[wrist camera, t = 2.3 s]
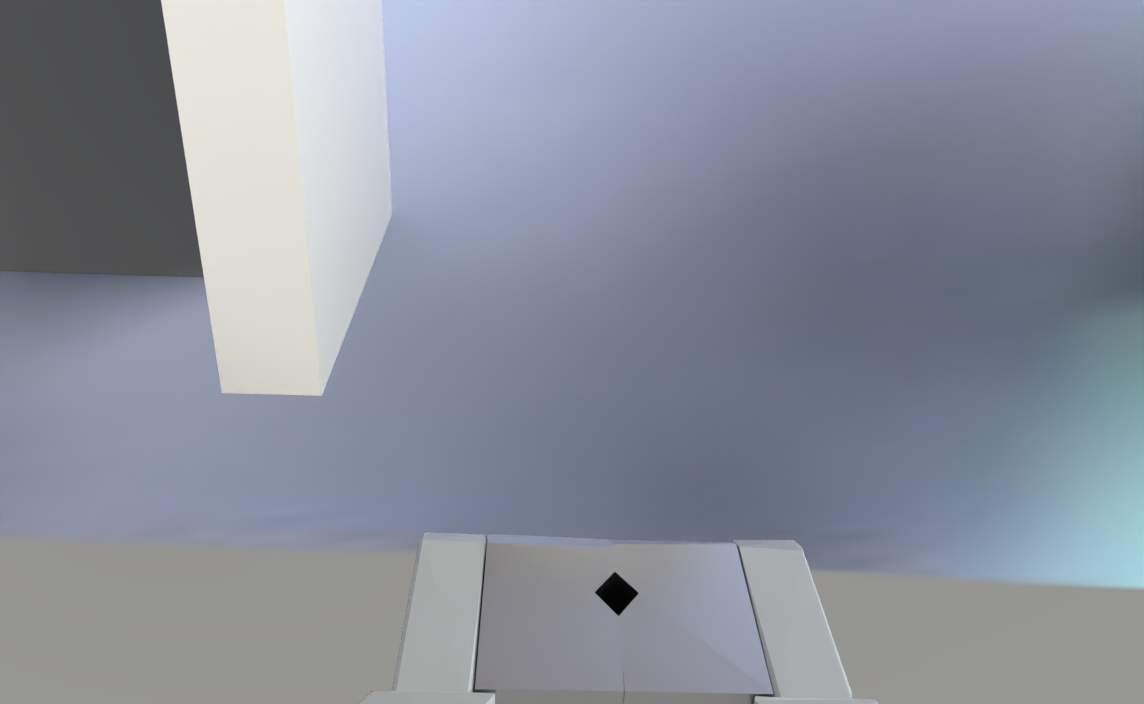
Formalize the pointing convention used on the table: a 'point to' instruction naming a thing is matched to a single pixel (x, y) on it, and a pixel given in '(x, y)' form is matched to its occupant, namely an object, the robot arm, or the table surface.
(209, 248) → the tile
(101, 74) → the mat
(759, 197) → the table surface
